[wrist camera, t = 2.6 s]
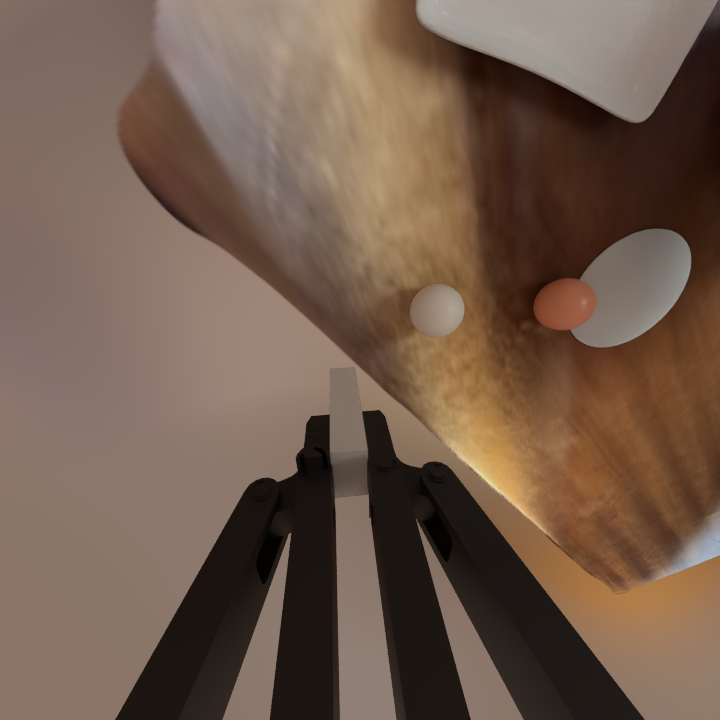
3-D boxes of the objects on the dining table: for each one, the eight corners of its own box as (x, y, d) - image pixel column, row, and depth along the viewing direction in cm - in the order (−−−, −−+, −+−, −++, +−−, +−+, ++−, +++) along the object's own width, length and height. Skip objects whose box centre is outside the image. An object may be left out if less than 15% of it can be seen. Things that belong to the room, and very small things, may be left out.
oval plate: (714, 226, 30) (717, 226, 30) (652, 343, 37) (654, 344, 37) (593, 230, 29) (594, 230, 29) (552, 349, 36) (553, 350, 36)
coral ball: (576, 272, 31) (621, 283, 27) (561, 318, 34) (598, 337, 29) (530, 274, 31) (566, 286, 26) (517, 321, 34) (548, 340, 29)
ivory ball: (455, 277, 30) (478, 290, 26) (448, 324, 33) (468, 344, 28) (405, 279, 30) (419, 293, 25) (403, 327, 33) (415, 347, 28)
